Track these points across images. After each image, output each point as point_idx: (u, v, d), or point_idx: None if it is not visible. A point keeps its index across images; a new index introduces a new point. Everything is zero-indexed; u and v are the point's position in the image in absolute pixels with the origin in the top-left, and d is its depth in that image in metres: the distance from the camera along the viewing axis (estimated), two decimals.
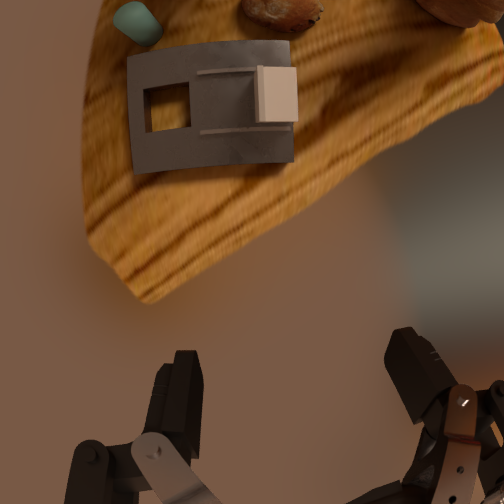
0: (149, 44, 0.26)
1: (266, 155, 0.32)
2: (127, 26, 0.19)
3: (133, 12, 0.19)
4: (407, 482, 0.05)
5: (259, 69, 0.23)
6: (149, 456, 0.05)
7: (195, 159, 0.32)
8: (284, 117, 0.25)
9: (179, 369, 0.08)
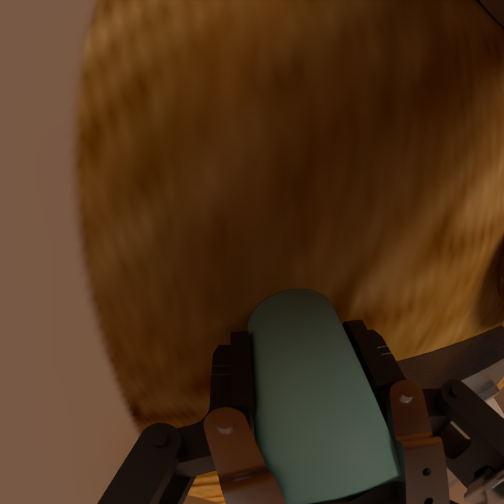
0: None
1: None
2: None
3: (355, 496, 0.05)
4: None
5: None
6: (225, 431, 0.06)
7: None
8: None
9: (238, 348, 0.09)
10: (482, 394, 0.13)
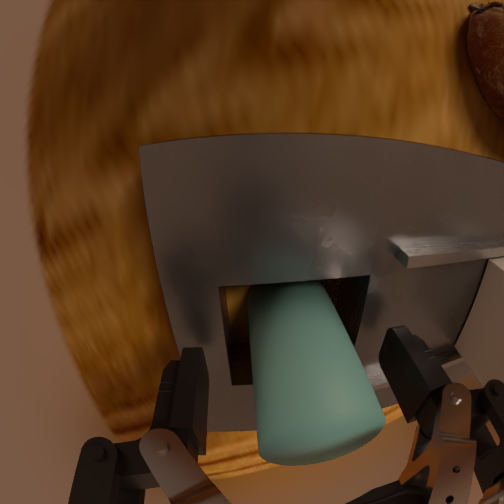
0: None
1: None
2: (313, 460, 0.07)
3: (341, 437, 0.07)
4: (403, 482, 0.05)
5: None
6: (158, 452, 0.05)
7: None
8: None
9: (186, 366, 0.09)
10: None
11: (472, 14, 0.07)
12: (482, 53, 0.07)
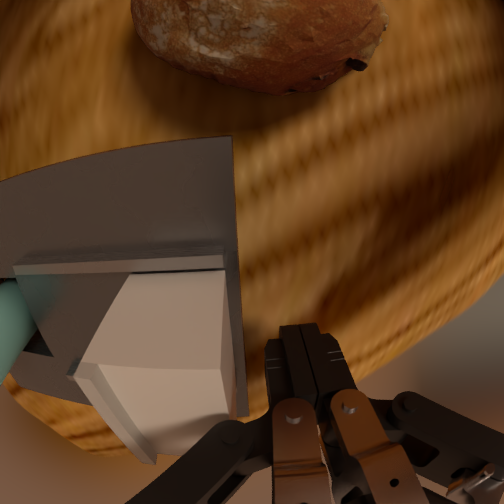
0: None
1: None
2: None
3: None
4: (340, 498, 0.05)
5: (86, 387, 0.06)
6: (296, 421, 0.06)
7: (82, 397, 0.15)
8: None
9: (291, 341, 0.10)
10: (170, 250, 0.10)
11: None
12: None
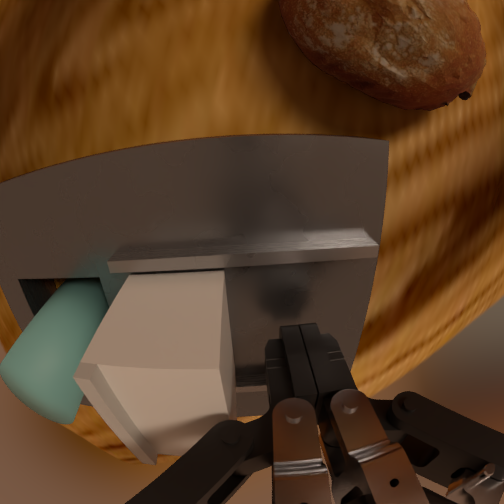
0: None
1: None
2: (50, 417, 0.08)
3: (39, 396, 0.07)
4: (340, 498, 0.05)
5: (86, 387, 0.06)
6: (296, 421, 0.06)
7: None
8: None
9: (291, 341, 0.10)
10: (326, 241, 0.10)
11: None
12: (283, 10, 0.08)
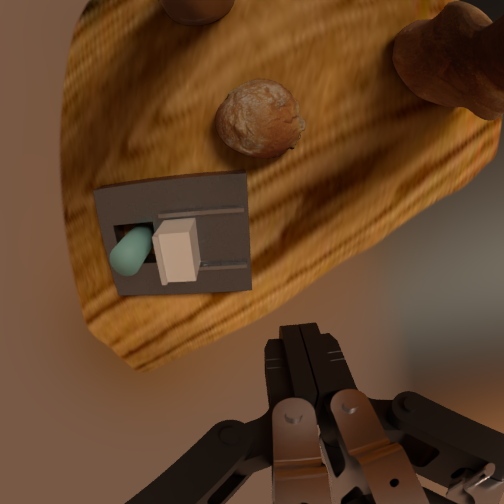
0: None
1: (227, 286, 0.38)
2: (126, 273, 0.31)
3: (127, 259, 0.30)
4: (340, 498, 0.05)
5: (154, 240, 0.28)
6: (296, 421, 0.06)
7: (167, 288, 0.38)
8: (183, 278, 0.31)
9: (291, 341, 0.10)
10: (226, 207, 0.33)
11: None
12: (216, 128, 0.30)
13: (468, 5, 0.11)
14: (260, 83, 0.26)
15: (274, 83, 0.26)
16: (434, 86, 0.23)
